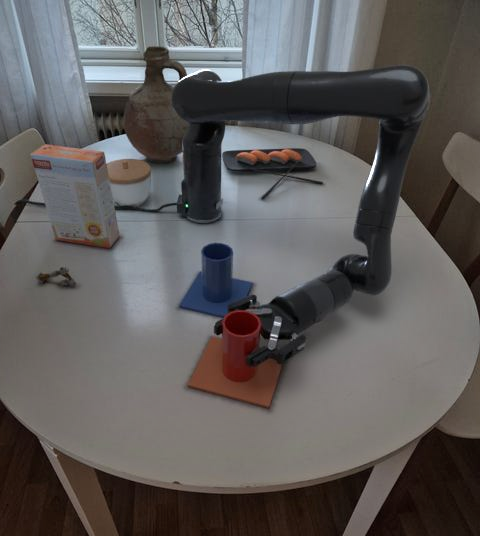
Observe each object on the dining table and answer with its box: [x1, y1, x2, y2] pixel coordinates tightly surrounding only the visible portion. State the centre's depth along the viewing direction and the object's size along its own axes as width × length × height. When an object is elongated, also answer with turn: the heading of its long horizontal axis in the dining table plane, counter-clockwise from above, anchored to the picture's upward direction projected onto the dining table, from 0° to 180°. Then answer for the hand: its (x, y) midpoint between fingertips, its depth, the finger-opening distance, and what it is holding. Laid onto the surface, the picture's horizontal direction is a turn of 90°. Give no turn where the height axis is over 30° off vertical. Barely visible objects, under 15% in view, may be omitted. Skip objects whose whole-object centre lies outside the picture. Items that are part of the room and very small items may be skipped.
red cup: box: [221, 310, 261, 382], centre depth 71 cm, size 6×6×11 cm
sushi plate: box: [221, 147, 324, 200], centre depth 131 cm, size 29×30×4 cm
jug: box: [122, 45, 189, 163], centre depth 128 cm, size 22×22×30 cm
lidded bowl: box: [106, 158, 152, 207], centre depth 113 cm, size 13×13×11 cm
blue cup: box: [200, 242, 234, 303], centre depth 86 cm, size 6×6×11 cm
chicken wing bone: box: [35, 266, 77, 287], centre depth 89 cm, size 2×8×4 cm, turn 78°
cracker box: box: [29, 143, 120, 249], centre depth 96 cm, size 14×6×21 cm, turn 77°
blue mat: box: [178, 270, 254, 319], centre depth 89 cm, size 12×12×1 cm
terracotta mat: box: [187, 335, 283, 409], centre depth 75 cm, size 14×12×1 cm
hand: (230, 346), depth 69 cm, fingers open, 8 cm apart
